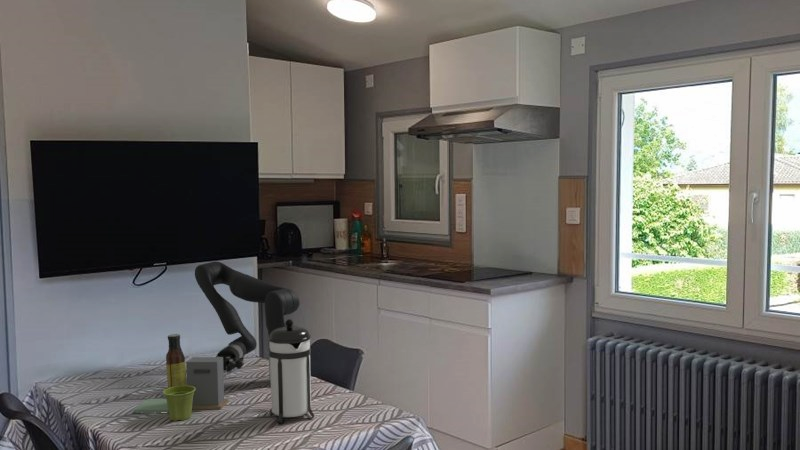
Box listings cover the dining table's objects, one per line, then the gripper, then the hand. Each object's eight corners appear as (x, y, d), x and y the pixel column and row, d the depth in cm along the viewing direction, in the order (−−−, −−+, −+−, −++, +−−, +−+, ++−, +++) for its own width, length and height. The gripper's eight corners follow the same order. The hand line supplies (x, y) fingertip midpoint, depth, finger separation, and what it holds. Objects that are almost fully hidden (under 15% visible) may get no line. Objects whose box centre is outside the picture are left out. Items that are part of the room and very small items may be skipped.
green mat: (181, 401, 222) (181, 398, 222) (168, 413, 211) (168, 409, 211) (148, 401, 222) (148, 398, 222) (133, 413, 211) (133, 409, 211)
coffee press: (327, 410, 211) (325, 315, 209) (298, 427, 196) (296, 326, 194) (280, 403, 218) (278, 312, 216) (250, 419, 204) (247, 321, 202)
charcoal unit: (228, 401, 221) (227, 356, 220) (220, 409, 213) (219, 362, 212) (192, 401, 222) (190, 356, 221) (183, 409, 214) (181, 362, 213)
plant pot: (178, 425, 200) (177, 396, 199) (157, 419, 205) (156, 391, 204) (203, 415, 208) (202, 388, 207) (182, 410, 213) (181, 383, 212)
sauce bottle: (190, 390, 234) (188, 333, 233) (179, 395, 228) (177, 337, 227) (175, 388, 236) (173, 332, 235) (163, 393, 230) (161, 336, 229)
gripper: (210, 346, 243) (194, 358, 227) (249, 346, 243) (236, 357, 226) (210, 367, 244) (195, 380, 227) (249, 366, 243) (236, 379, 227)
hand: (215, 369), depth 227 cm, fingers open, 8 cm apart
